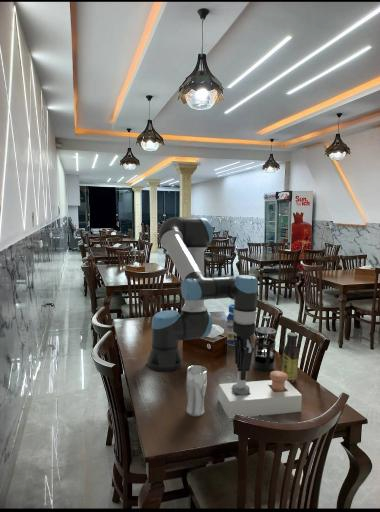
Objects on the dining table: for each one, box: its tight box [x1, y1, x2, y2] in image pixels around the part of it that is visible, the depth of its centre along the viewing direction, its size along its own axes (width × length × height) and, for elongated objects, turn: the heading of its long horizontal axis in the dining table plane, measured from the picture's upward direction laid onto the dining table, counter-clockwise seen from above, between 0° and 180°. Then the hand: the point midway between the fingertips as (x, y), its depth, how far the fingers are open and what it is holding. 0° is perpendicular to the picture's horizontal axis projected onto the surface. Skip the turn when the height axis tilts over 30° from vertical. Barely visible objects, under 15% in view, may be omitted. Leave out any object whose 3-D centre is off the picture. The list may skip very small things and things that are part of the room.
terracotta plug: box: [269, 370, 288, 392], centre depth 127 cm, size 6×6×6 cm
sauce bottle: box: [281, 331, 300, 384], centre depth 145 cm, size 6×6×20 cm
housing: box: [217, 379, 303, 419], centre depth 126 cm, size 26×12×6 cm, turn 102°
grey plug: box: [232, 384, 250, 396], centre depth 124 cm, size 6×6×6 cm
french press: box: [252, 315, 277, 372], centre depth 157 cm, size 12×9×23 cm
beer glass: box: [185, 364, 208, 417], centre depth 121 cm, size 7×7×15 cm
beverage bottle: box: [225, 303, 237, 347], centre depth 184 cm, size 8×8×20 cm
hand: (241, 387), depth 124 cm, fingers closed
